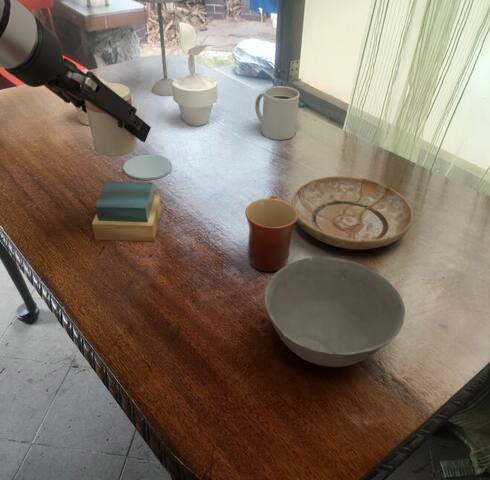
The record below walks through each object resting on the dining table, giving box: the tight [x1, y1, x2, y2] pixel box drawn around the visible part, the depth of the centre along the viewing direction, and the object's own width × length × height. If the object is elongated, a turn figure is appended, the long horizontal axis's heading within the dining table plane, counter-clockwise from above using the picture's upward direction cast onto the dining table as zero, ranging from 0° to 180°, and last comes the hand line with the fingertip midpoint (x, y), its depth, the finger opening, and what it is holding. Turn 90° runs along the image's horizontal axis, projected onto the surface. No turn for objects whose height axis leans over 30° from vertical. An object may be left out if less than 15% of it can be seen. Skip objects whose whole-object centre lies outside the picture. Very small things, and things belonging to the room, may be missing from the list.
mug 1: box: [254, 85, 300, 141], centre depth 116 cm, size 11×10×10 cm
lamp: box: [133, 0, 184, 97], centre depth 125 cm, size 17×17×33 cm
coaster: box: [122, 154, 173, 181], centre depth 104 cm, size 11×11×1 cm
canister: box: [84, 82, 138, 157], centre depth 74 cm, size 7×7×9 cm
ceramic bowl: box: [290, 175, 414, 250], centre depth 89 cm, size 23×24×5 cm
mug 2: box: [245, 195, 298, 273], centre depth 79 cm, size 12×9×10 cm
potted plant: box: [166, 13, 218, 127], centre depth 113 cm, size 13×12×25 cm
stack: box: [91, 180, 163, 242], centre depth 86 cm, size 11×11×6 cm
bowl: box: [264, 256, 406, 368], centre depth 65 cm, size 19×19×10 cm
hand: (128, 127), depth 78 cm, fingers closed on canister, 7 cm apart
